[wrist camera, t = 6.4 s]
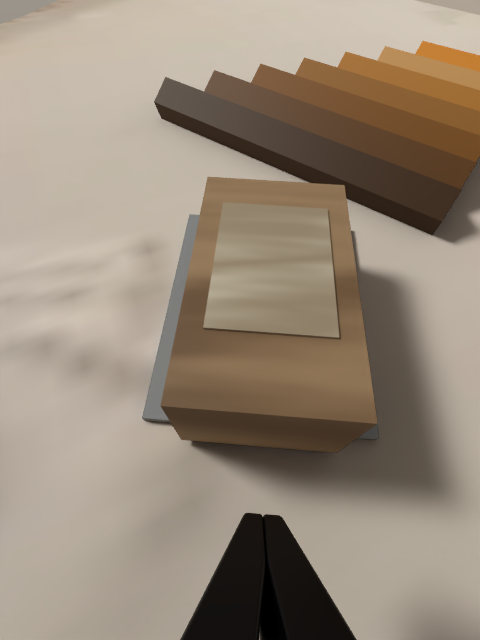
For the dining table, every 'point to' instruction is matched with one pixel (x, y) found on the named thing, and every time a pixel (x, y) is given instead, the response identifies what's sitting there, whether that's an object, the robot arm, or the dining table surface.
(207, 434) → the walnut block
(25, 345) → the dining table surface
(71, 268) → the dining table surface
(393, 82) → the pan flute
